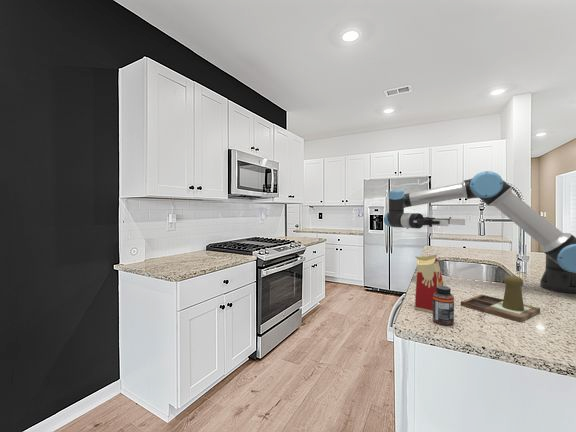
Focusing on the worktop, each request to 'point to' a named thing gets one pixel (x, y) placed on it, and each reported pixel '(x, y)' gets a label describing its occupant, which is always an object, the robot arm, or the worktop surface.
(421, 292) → the milk carton
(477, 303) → the board
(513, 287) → the cork
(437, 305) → the supplement bottle
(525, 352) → the worktop surface
